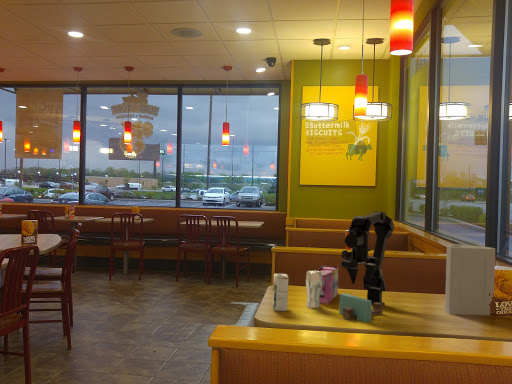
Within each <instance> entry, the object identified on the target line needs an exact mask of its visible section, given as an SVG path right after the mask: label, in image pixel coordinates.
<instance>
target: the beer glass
mask: <svg viewBox="0 0 512 384" xmlns="http://www.w3.org/2000/svg"><path fill="white" fill-rule="evenodd" d="M305 275H306V276H305V288H306V296H307V298H306V299H307V301H306V304H305V307H307V308H309V309H319V308H321V303H320V293H321V288H322V272H321V271H316V270H307V271H306V274H305Z"/></svg>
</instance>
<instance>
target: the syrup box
mask: <svg viewBox="0 0 512 384" xmlns="http://www.w3.org/2000/svg"><path fill="white" fill-rule="evenodd" d="M272 285H273V286H272V303H271V304H272V307H271V308H272V310H273V312H287V311H288V296H289V275H288V274H287V273H273V284H272Z"/></svg>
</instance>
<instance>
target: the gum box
mask: <svg viewBox="0 0 512 384" xmlns="http://www.w3.org/2000/svg"><path fill="white" fill-rule="evenodd" d="M315 271H321V272H322V288H321V293H320V304H330V302H332V301H333V300H334V298H335V297H337V296H338V293H339V266H335V265H322V266H320V267H319V268H317V269H315Z"/></svg>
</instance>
